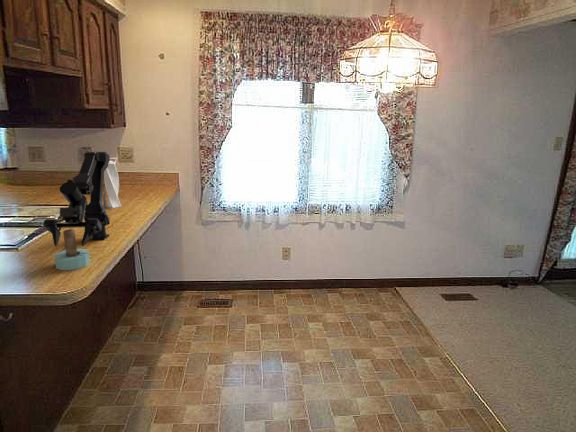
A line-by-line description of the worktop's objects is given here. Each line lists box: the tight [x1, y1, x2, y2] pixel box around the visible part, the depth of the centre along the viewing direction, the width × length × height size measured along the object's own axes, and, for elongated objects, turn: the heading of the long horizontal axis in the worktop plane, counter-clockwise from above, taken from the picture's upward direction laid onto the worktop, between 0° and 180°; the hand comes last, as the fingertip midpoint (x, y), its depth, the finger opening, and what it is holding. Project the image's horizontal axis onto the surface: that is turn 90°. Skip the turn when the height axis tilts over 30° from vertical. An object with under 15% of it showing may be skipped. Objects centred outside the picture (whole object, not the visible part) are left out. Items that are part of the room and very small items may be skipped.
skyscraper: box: [102, 157, 122, 210], centre depth 221 cm, size 8×8×28 cm
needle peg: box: [62, 229, 78, 257], centre depth 144 cm, size 4×4×13 cm
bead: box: [54, 248, 91, 271], centre depth 145 cm, size 11×11×4 cm
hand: (69, 245), depth 142 cm, fingers open, 9 cm apart
